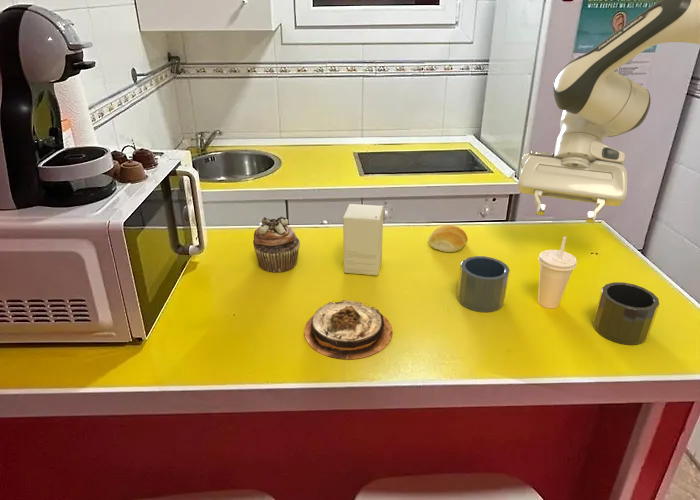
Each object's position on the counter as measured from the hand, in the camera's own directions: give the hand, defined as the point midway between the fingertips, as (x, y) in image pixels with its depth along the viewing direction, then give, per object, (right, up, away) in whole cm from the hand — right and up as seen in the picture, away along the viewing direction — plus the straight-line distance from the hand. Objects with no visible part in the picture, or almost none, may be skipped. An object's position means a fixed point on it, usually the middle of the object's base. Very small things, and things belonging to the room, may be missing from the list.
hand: (564, 217), depth 103 cm
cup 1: (-18, -16, -5) cm, 24 cm away
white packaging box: (-40, -10, +6) cm, 42 cm away
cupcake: (-58, -9, +7) cm, 59 cm away
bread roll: (-20, -5, +15) cm, 26 cm away
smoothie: (-5, -16, -6) cm, 18 cm away
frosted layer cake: (-43, -20, -14) cm, 49 cm away
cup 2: (+4, -20, -13) cm, 24 cm away
